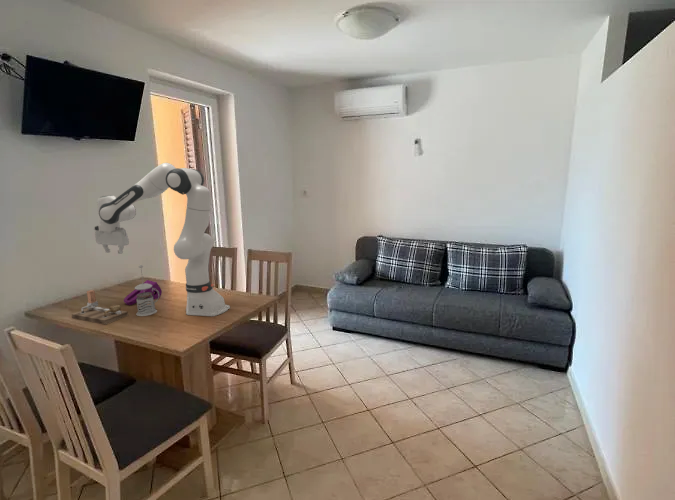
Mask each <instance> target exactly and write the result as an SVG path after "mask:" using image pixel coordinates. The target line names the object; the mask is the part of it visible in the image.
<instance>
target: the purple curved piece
mask: <svg viewBox="0 0 675 500" xmlns="http://www.w3.org/2000/svg"><path fill="white" fill-rule="evenodd" d="M143 283H147V284H151V285H152V287H151V288H149V289H145V290H136V289H135V288H134V290H133V291H131V292H130V293H128V295H126V296H125V297H124V299H123V303H124V304H125V305H127V306H132V305H134V304H137V300H136V298H137V294H140V293H145V292H151V293H152V295H153V299H154V300H157V299H158V297H159V298H160V297H161V296H162V291H163V290H162V288H161V287H160V286H159V284H158V282H157V281H153V280H149V279H147V280H145V281H143ZM152 288H153V291H152ZM154 288H155V290H154ZM156 289H157V290H158V291H159V296H158V292H157V291H156ZM146 298H151V297H145V299H146ZM158 300H159V299H158Z"/></svg>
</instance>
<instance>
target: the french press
mask: <svg viewBox="0 0 675 500" xmlns="http://www.w3.org/2000/svg"><path fill="white" fill-rule="evenodd" d="M143 267H144V265H143V264H139V266H138V268H139V269H140V272H141V274H143V272H142V269H143ZM141 279H142V281H141V282H142V283H140V284H137V285H136V286H134V290H135V289H136V290H145V289H149V288H151V287H152V285H151V284H147V283H144V281H143V280H144V278H143V276H141ZM154 290H155V288H154ZM152 291H153V288H152ZM156 291H157V292H158V296H159V291H158V290H157V289H156ZM146 297H147V298H146ZM148 297H151V298H148ZM159 298H160V297H158V299H153V295H152V293H151V292H145V293H140V294H137V298H136V300H137V303H136V305H137V312H136V313H135V315H136V316H137V317H138V316H139V317H145V316H151V315H154V314H156V313H158V310H157V309H156V305H155V303H156V302H158V300H159Z"/></svg>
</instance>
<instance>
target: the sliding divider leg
mask: <svg viewBox="0 0 675 500" xmlns="http://www.w3.org/2000/svg"><path fill="white" fill-rule="evenodd" d="M86 295H87V303H86V305H85V306H83V307H81V309H80V311H82V312H84V311H83V310H85V309H88V308H93V307H96V306H97V307H99V301H98V300H97V297H96V293H95V289H90V290H86Z"/></svg>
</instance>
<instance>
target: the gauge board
mask: <svg viewBox="0 0 675 500" xmlns="http://www.w3.org/2000/svg"><path fill="white" fill-rule="evenodd" d="M83 311H84V312H82V310H79V311H77V312H73V313H72V314H71V318H72V319H75V320H76V319H77V320H81V321H86V322H92V323H97V324H102V325H107V324H111V323H113V322H116V321H118V320H120V319H123V318H126V317H128V316H129V312H128V311H126V310H122V309H121V305H120V304H113V305H111V306H109V307H108V308H107V307H102V306H96V307H93V308H86V309H83Z"/></svg>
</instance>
